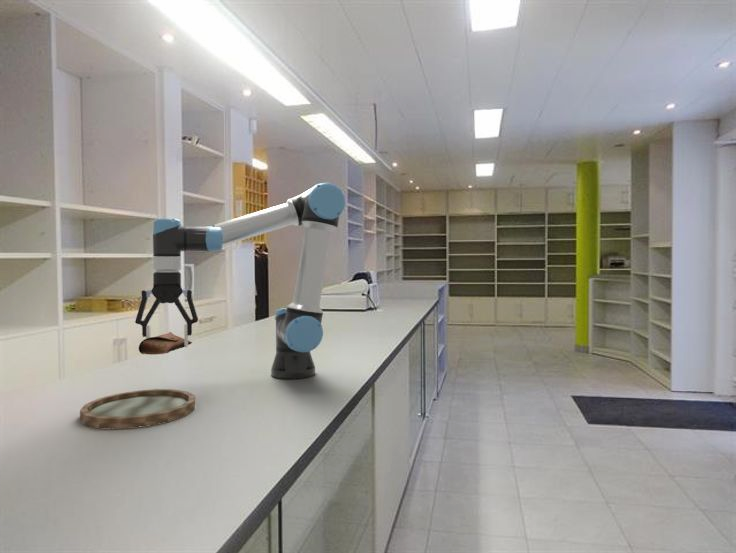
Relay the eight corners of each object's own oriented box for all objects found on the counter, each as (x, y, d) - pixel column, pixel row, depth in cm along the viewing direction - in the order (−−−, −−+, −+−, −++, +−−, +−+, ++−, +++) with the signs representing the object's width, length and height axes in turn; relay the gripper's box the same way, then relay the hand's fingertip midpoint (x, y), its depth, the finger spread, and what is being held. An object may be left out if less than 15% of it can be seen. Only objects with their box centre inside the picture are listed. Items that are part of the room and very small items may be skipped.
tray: (196, 394, 150) (196, 386, 150) (193, 422, 124) (193, 412, 124) (94, 402, 142) (94, 393, 142) (68, 434, 116) (68, 423, 116)
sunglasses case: (168, 352, 140) (155, 331, 140) (147, 365, 141) (134, 344, 141) (194, 342, 158) (183, 324, 158) (175, 353, 159) (164, 335, 159)
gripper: (207, 271, 156) (207, 343, 156) (128, 271, 150) (128, 346, 150) (206, 271, 149) (206, 347, 149) (123, 271, 143) (123, 350, 143)
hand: (167, 347), depth 150 cm, fingers closed on sunglasses case, 10 cm apart
